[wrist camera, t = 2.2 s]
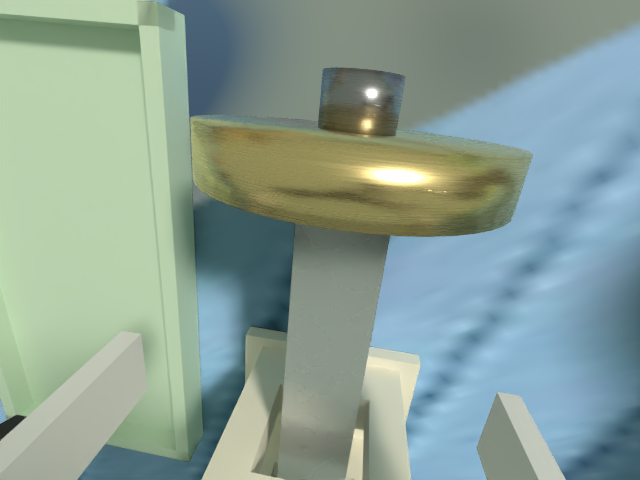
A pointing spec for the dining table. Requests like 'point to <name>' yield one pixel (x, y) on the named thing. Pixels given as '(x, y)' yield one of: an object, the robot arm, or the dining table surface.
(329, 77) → the gold disc post
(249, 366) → the double loop bracket
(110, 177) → the tray
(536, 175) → the dining table surface
